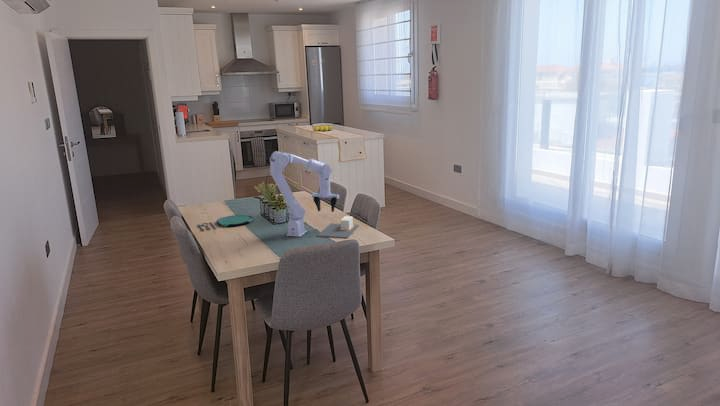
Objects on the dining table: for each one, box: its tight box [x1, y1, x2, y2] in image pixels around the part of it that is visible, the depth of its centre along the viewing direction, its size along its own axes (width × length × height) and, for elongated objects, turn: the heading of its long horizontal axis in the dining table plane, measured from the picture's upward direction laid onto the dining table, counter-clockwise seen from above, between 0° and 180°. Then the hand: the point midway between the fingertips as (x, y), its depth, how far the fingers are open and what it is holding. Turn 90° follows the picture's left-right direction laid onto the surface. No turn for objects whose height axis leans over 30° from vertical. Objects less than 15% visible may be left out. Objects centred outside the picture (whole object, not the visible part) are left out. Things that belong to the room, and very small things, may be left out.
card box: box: [340, 215, 354, 230], centre depth 263 cm, size 4×8×5 cm, turn 166°
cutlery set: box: [196, 213, 253, 232], centre depth 279 cm, size 20×30×2 cm, turn 118°
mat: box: [316, 222, 360, 239], centre depth 260 cm, size 22×16×1 cm
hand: (326, 211), depth 263 cm, fingers open, 7 cm apart
